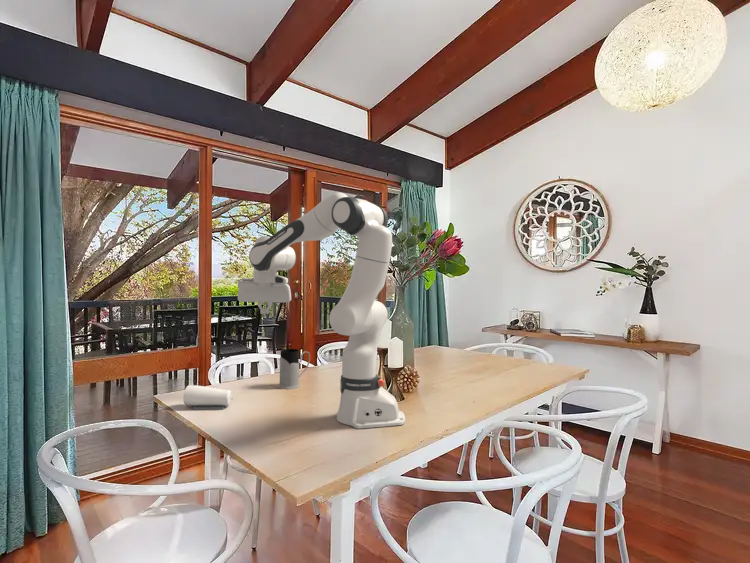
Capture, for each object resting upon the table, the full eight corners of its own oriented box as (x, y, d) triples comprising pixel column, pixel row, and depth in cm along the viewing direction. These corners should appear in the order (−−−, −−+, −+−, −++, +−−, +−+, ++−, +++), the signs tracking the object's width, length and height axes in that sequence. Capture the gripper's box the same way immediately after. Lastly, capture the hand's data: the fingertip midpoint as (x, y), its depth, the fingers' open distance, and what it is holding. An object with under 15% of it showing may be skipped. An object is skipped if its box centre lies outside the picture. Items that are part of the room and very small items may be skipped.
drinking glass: (234, 388, 152) (192, 384, 152) (229, 388, 146) (185, 384, 145) (231, 407, 150) (189, 404, 150) (225, 408, 144) (181, 405, 143)
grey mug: (274, 385, 176) (275, 350, 176) (304, 380, 186) (304, 346, 185) (285, 390, 170) (285, 353, 169) (315, 384, 179) (315, 349, 179)
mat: (232, 399, 157) (232, 397, 157) (223, 409, 145) (223, 408, 145) (204, 399, 156) (204, 397, 156) (193, 409, 144) (193, 408, 144)
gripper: (235, 278, 161) (235, 314, 161) (290, 279, 162) (289, 314, 163) (239, 277, 167) (239, 312, 167) (292, 278, 169) (291, 313, 169)
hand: (264, 313), depth 165 cm, fingers closed
